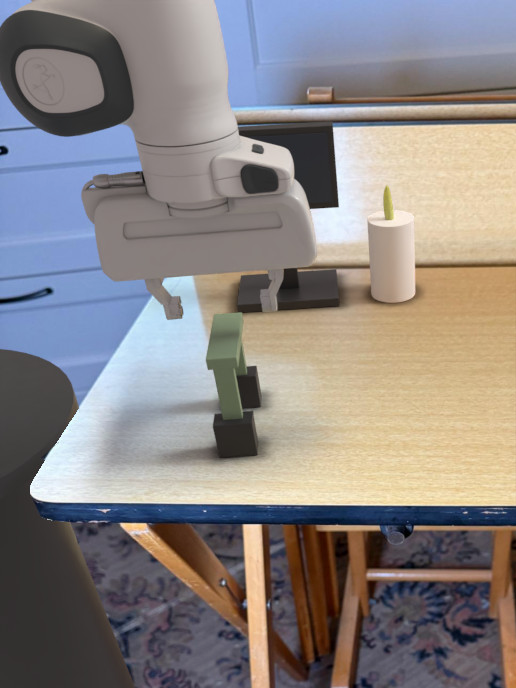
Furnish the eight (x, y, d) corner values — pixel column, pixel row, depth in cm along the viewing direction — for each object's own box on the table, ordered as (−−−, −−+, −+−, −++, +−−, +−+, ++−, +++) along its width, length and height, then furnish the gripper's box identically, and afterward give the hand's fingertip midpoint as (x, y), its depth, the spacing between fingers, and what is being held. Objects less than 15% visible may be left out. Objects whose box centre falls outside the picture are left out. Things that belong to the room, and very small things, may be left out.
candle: (421, 285, 115) (420, 176, 105) (407, 304, 110) (405, 192, 100) (380, 281, 116) (375, 173, 106) (364, 299, 112) (358, 189, 102)
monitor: (230, 313, 110) (200, 141, 95) (235, 283, 117) (207, 119, 103) (346, 305, 110) (333, 134, 96) (343, 276, 118) (331, 113, 103)
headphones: (219, 458, 84) (199, 364, 76) (227, 398, 93) (209, 310, 85) (257, 455, 84) (241, 361, 77) (261, 395, 93) (247, 307, 86)
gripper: (67, 187, 68) (112, 336, 77) (307, 170, 68) (324, 319, 78) (82, 165, 72) (123, 307, 81) (307, 149, 73) (322, 291, 82)
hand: (223, 313), depth 79 cm, fingers open, 8 cm apart
